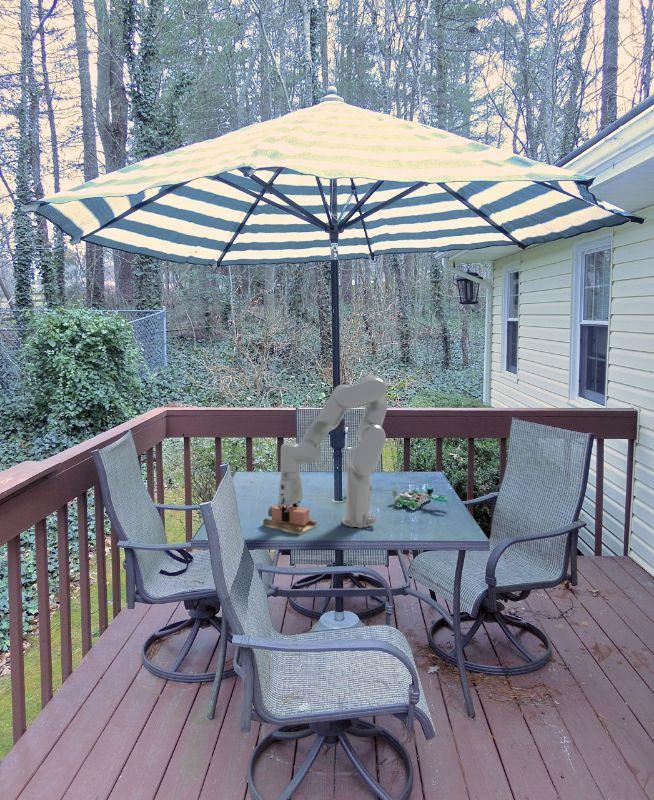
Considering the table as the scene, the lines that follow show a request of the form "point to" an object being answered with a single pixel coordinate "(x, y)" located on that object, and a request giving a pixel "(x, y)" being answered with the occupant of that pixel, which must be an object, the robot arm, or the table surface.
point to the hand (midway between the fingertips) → (290, 518)
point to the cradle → (289, 526)
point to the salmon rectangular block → (290, 515)
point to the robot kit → (417, 498)
